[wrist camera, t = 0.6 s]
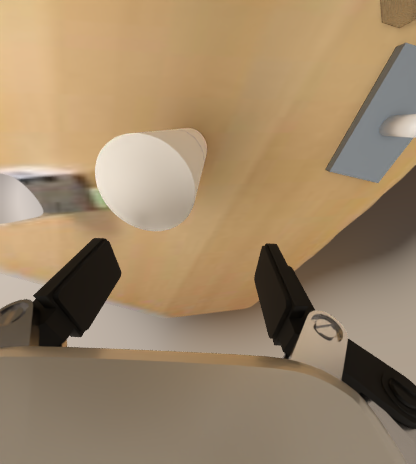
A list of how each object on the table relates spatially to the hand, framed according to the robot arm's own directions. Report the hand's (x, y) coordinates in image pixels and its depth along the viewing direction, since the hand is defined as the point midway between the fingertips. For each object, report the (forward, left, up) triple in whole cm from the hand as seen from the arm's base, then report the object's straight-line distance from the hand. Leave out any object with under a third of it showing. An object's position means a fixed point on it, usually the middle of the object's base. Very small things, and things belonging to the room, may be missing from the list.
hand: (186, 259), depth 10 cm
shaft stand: (-13, +30, -29) cm, 44 cm away
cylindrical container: (-2, -4, -29) cm, 29 cm away
